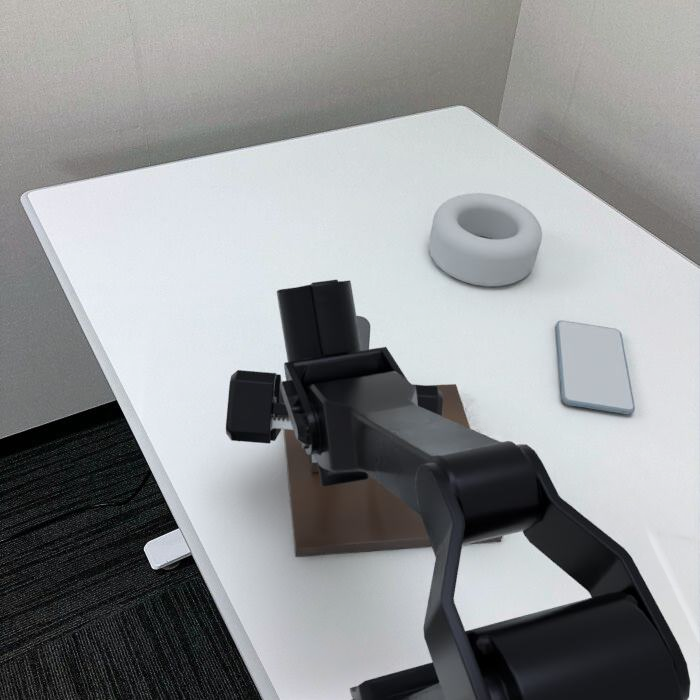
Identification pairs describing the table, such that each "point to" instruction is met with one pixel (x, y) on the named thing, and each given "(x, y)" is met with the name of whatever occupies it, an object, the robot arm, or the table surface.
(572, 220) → the table surface
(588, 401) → the smartphone
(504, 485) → the robot arm
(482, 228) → the donut shape
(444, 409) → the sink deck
